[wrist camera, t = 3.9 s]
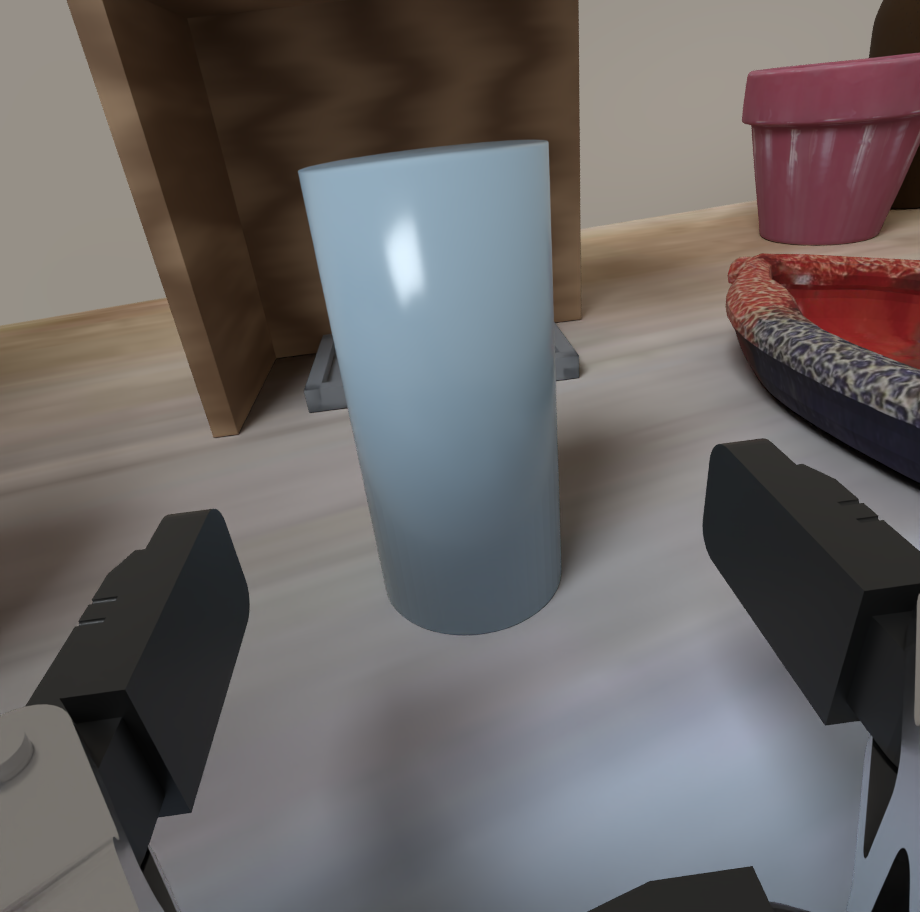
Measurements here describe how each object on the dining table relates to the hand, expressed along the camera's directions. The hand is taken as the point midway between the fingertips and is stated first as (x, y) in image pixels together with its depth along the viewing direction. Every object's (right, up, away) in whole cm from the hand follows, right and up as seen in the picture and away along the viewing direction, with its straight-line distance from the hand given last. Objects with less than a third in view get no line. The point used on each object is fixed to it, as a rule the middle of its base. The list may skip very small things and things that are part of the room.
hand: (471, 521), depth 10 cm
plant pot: (+31, +20, +44) cm, 57 cm away
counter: (-2, +6, +26) cm, 27 cm away
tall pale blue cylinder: (0, -3, +10) cm, 10 cm away
